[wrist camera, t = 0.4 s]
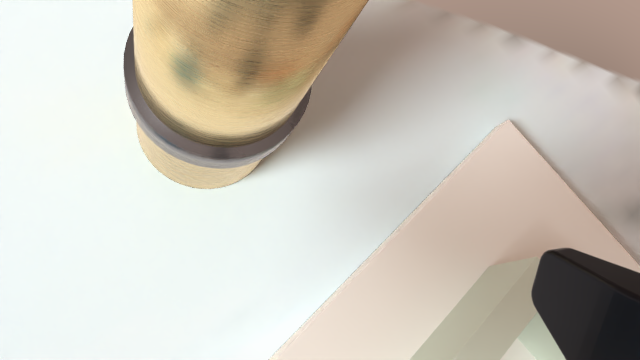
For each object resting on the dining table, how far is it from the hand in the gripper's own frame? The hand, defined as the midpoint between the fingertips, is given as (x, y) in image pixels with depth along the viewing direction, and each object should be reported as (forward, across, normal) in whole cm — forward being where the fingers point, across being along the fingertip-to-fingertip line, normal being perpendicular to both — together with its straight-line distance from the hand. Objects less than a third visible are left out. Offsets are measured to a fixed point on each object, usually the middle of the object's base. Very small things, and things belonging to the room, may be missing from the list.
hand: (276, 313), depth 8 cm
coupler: (+15, -1, +3) cm, 15 cm away
